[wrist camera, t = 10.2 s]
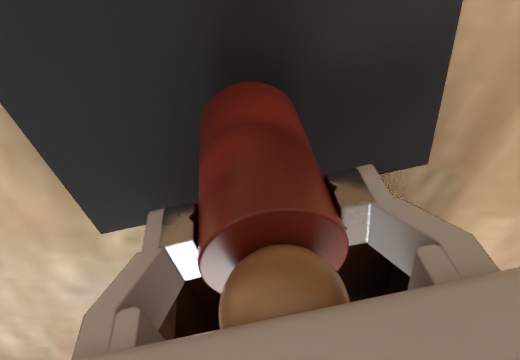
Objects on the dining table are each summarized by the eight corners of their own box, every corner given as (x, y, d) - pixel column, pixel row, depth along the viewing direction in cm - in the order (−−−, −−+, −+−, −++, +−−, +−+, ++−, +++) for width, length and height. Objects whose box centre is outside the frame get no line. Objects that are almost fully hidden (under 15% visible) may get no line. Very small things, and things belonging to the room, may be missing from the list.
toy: (213, 173, 16) (224, 426, 9) (186, 93, 13) (164, 366, 6) (301, 154, 16) (388, 393, 8) (291, 70, 13) (408, 315, 6)
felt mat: (102, 229, 21) (100, 234, 20) (-72, -2, 12) (-78, 1, 12) (424, 160, 20) (428, 164, 20) (483, -127, 12) (490, -127, 12)
